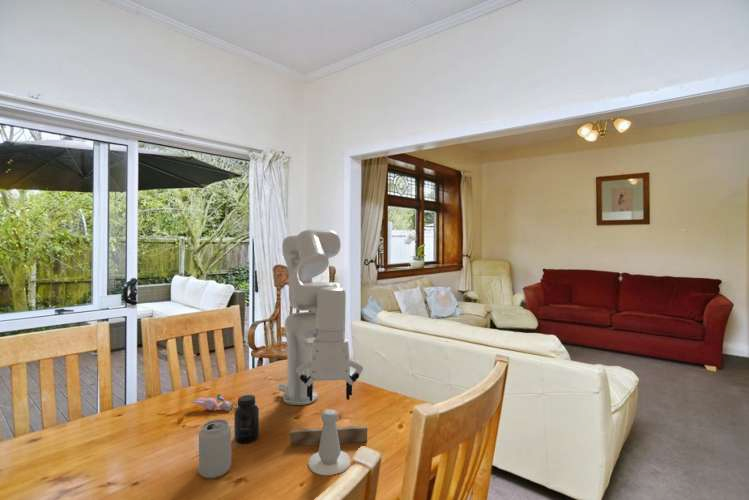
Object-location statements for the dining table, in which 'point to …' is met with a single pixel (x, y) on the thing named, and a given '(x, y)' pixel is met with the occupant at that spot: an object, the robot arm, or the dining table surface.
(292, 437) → the walnut wall
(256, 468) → the dining table surface
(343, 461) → the ceramic coaster
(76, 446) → the dining table surface
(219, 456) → the can
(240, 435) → the supplement bottle
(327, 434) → the grey tapered upright piece
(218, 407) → the rabbit figure
